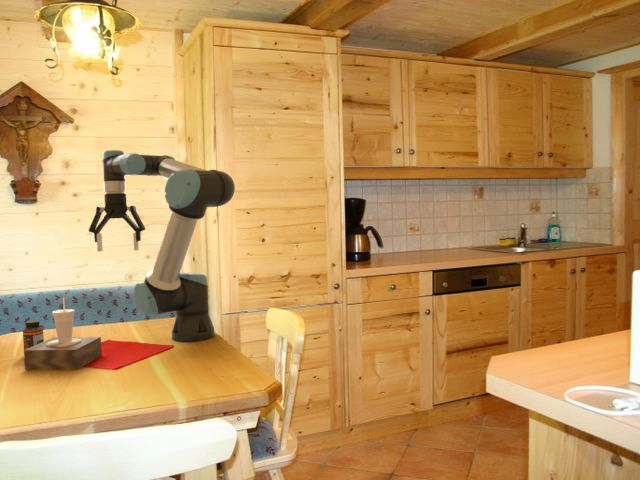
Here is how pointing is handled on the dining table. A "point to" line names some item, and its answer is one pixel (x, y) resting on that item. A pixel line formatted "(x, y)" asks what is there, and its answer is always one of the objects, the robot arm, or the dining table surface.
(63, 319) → the white drink cup
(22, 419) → the dining table surface
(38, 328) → the supplement bottle
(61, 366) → the stand
